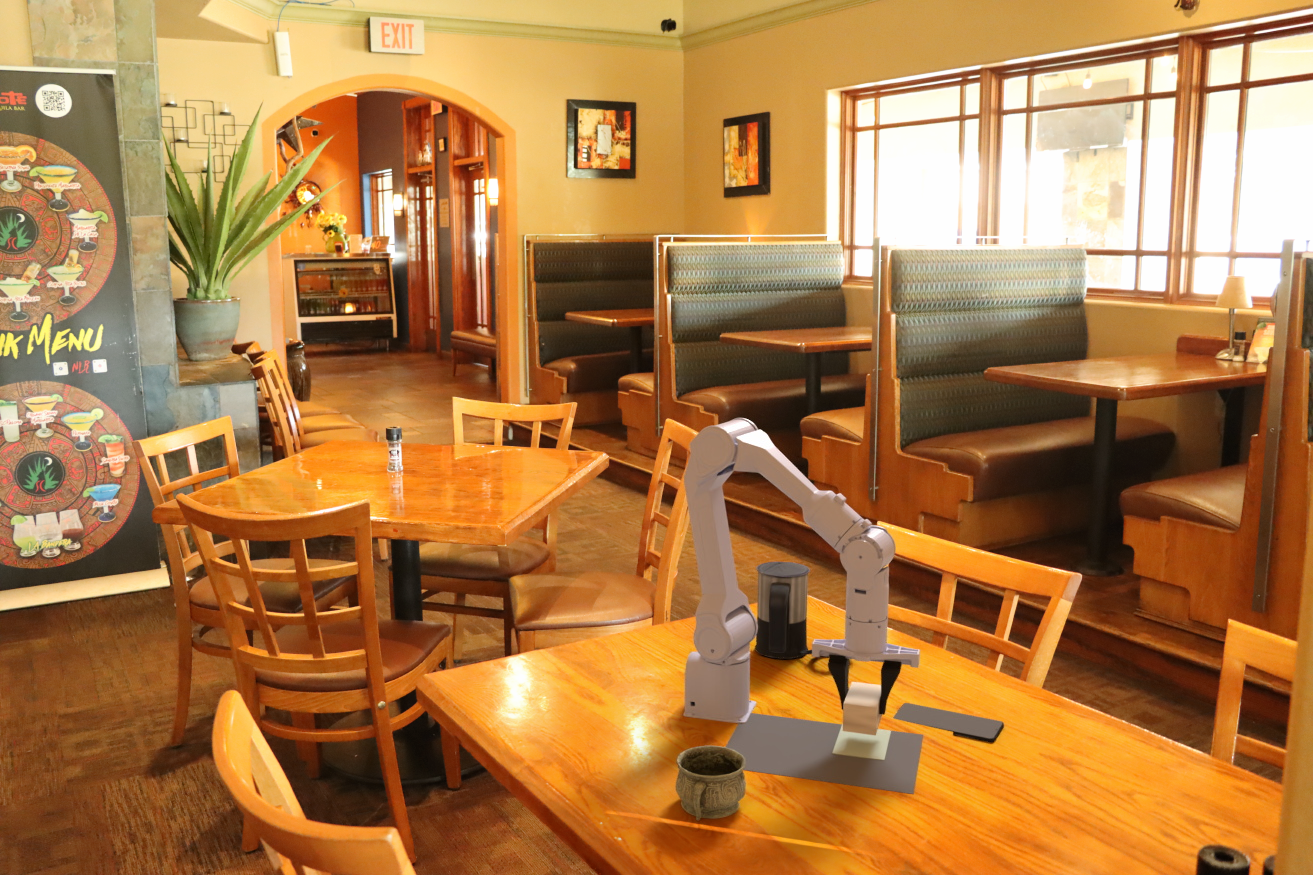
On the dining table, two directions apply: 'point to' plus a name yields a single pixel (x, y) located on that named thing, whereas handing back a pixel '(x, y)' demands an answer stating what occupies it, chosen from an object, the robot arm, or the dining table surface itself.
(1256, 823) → the dining table surface
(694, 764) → the vessel
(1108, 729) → the dining table surface
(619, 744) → the dining table surface
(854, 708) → the birch block
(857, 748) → the rubber mat
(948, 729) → the smartphone
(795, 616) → the milk frother
